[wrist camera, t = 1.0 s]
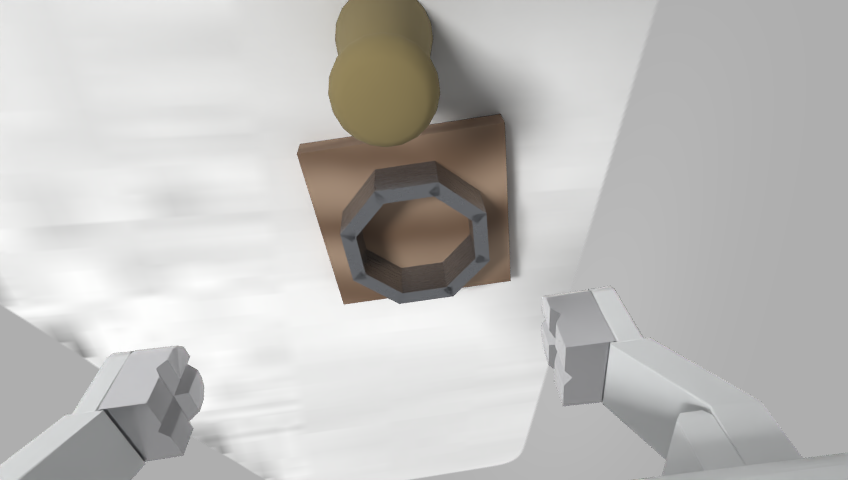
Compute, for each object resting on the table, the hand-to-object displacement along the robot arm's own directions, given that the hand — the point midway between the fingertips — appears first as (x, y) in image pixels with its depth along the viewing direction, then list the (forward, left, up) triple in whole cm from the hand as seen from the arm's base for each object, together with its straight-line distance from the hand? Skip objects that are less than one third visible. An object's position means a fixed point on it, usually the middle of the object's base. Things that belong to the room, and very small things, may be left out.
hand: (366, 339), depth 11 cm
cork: (0, 0, -25) cm, 25 cm away
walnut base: (+13, 0, -25) cm, 28 cm away
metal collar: (+13, 0, -23) cm, 26 cm away
